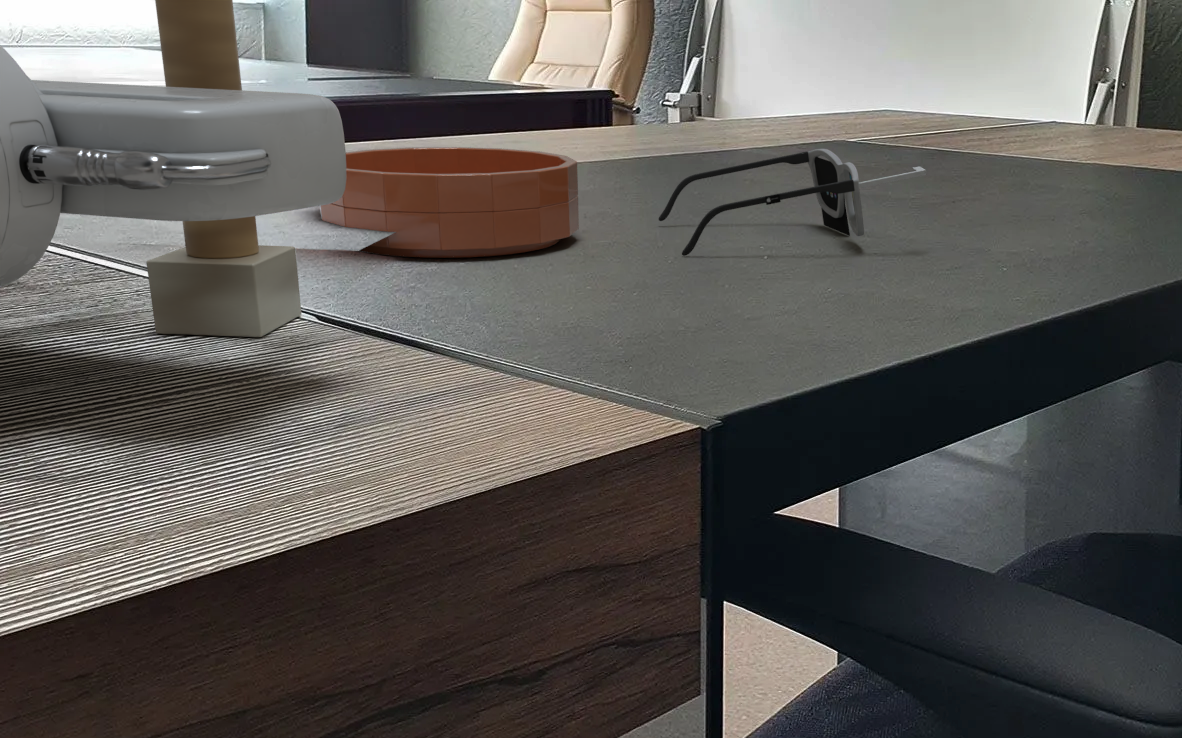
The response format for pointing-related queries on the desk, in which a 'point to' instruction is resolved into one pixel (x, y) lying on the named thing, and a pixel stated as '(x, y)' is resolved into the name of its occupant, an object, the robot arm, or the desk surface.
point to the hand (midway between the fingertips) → (194, 124)
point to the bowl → (458, 200)
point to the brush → (216, 247)
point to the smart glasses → (804, 191)
